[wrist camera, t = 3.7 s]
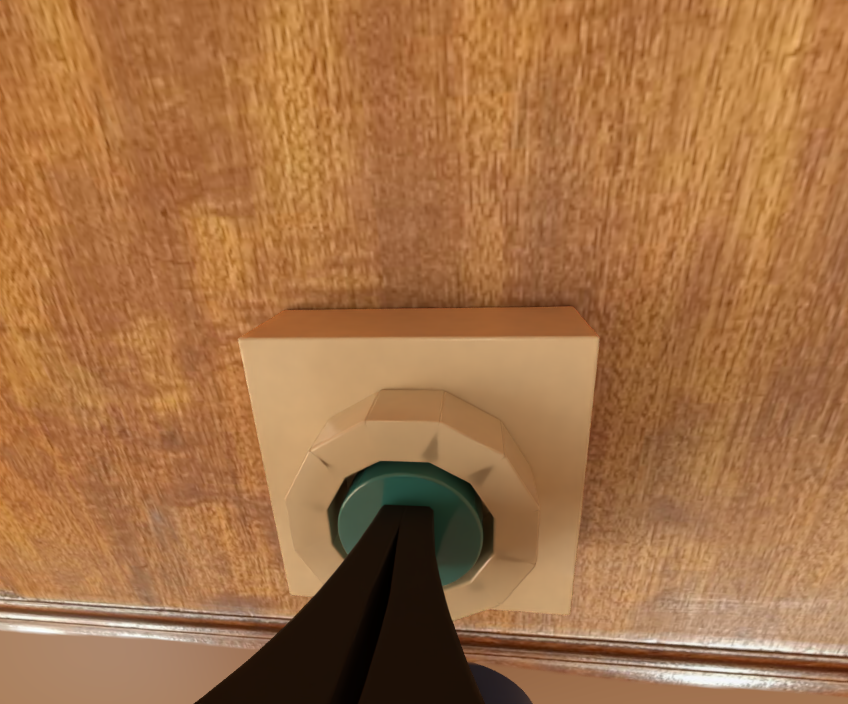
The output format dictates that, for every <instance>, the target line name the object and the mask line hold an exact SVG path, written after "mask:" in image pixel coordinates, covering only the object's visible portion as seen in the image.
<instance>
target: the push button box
mask: <svg viewBox="0 0 848 704" xmlns="http://www.w3.org/2000/svg"><path fill="white" fill-rule="evenodd" d="M238 343H239V348H240V352H241V357H242V362H243V367H244V372H245V377H246V382H247V387H248V392H249V396H250V401H251V406H252V411H253V416H254V421H255V426H256V431H257V436H258V441H259V445H260V450H261V455H262V460H263V465H264V470H265V475H266V480H267V485H268V489H269V494H270V499H271V504H272V509H273V514H274V519H275V524H276V529H277V534H278V538H279V543H280V548H281V553H282V558H283V563H284V568H285V573H286V578H287V582H288V587H289V592H290V595H292V596H306V597H313V596H314V595H315V594H316V593H317V592H318V591H319V590H320V588H321V587H322V586H323V585H324V584H325V583H326V581H327V580H328V579H329V578H330V577H331V575H332V574H333V573H334V572H335V571H336V570H337V568H338V567H339V566H340V565H341V563H342V562H343V561H344V559H345V558H346V557H347V553H346V552H345V550H344V548H343V546H342V544H341V541H340V538H339V533H338V514H339V511H340V507H341V505H342V503H343V500H344V498H345V496H346V493H347V491H348V489H349V486H350V484H351V482H352V479H353V477H354V475H355V473H356V472H358V471H360V470H363V469H365V468H367V467H369V466H371V465H373V464H375V463H377V462H379V461H403V462H429V463H431V464H433V465H435V466H437V467H439V468H441V469H443V470H445V471H447V472H449V473H451V474H453V475H455V476H457V477H459V478H461V479H463V480H465V481H466V482H468V483H470V484H471V485H472V487H473V488H474V490H475V491H476V492H477V494H478V495H479V497H480V498H481V500H482V501H483V532H484V539H483V547H482V550H481V553H480V556H479V558H478V560H477V562H476V563H475V564H474V566H473V567H472V568H471V570H470V571H469V572H468V573H467V574H465V575H464V576H463V577H462V578H460V579H458V580H457V581H455V582H453V583H451V584H448V585H446V586H443V591H444V594H445V598H446V601H447V605H448V608H449V612H450V615H451V618H452V621H456V620H459V619H462V618H465V617H468V616H470V615H473V614H476V613H479V612H482V611H485V610H501V611H515V612H529V613H543V614H557V615H570V613H571V605H572V596H573V586H574V577H575V568H576V558H577V549H578V540H579V530H580V521H581V512H582V502H583V493H584V483H585V474H586V465H587V455H588V446H589V437H590V427H591V418H592V409H593V399H594V390H595V380H596V371H597V362H598V352H599V343H600V338H599V336H598V335H597V333H596V332H595V331H594V330H593V329H592V328H591V326H590V325H589V324H588V323H587V322H586V321H585V319H584V318H583V317H582V316H581V315H580V313H579V312H578V311H577V310H576V309H575V308H574V307H572V306H566V307H485V308H403V309H322V310H283V311H282V312H280V313H278V314H277V315H275V316H274V317H272V318H270V319H269V320H267V321H266V322H264V323H262V324H261V325H259V326H257V327H256V328H254V329H253V330H251V331H249V332H248V333H246V334H245V335H243V336H241V337H240V338H239V339H238Z"/></svg>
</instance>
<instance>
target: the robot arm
mask: <svg viewBox="0 0 848 704" xmlns="http://www.w3.org/2000/svg"><path fill="white" fill-rule="evenodd" d="M194 704H485V702H484V700H483V698H482V696H481V693H480V691H479V689H478V686H477V684H476V682H475V679H474V677H473V675H472V672H471V670H470V668H469V665H468V663H467V660H466V657H465V655H464V652H463V649H462V647H461V644H460V641H459V639H458V636H457V633H456V630H455V627H454V624H453V621H452V618H451V615H450V612H449V608H448V605H447V601H446V598H445V594H444V591H443V587H442V583H441V579H440V575H439V570H438V565H437V560H436V555H435V534H434V510H433V509H432V508H430V507H429V506H407V505H383V506H382V507H381V508H380V510H379V511H378V513H377V515H376V516H375V518H374V519H373V521H372V522H371V524H370V525H369V527H368V528H367V530H366V531H365V532H364V534H363V535H362V537H361V538H360V539H359V541H358V542H357V544H356V545H355V546H354V548H353V549H352V550H351V551H350V553H349V554H348V555H347V557H346V558H345V559H344V561H343V562H342V563H341V565H340V566H339V567H338V568H337V570H336V571H335V572H334V573H333V574H332V575H331V577H330V578H329V579H328V580H327V581H326V583H325V584H324V585H323V586H322V587H321V588H320V590H319V591H318V592H317V593H316V594H315V595H314V596H313V598H312V599H311V600H310V601H309V602H308V603H307V604H306V605H305V606H304V607H303V608H302V609H301V610H300V611H299V613H298V614H297V615H296V616H295V617H294V618H293V619H292V620H291V621H290V622H289V623H288V624H287V625H286V626H285V627H284V628H283V629H282V630H280V631H279V632H278V633H277V634H276V635H275V636H274V637H273V638H272V639H271V640H270V641H269V642H268V643H266V644H265V645H264V646H263V647H262V648H261V649H260V650H259V651H258V652H257V653H256V654H254V655H253V656H252V657H251V658H250V659H249V660H248V661H246V662H245V663H244V664H243V665H242V666H240V667H239V668H238V669H237V670H236V671H234V672H233V673H232V674H231V675H229V676H228V677H227V678H226V679H224V680H223V681H222V682H221V683H219V684H218V685H217V686H216V687H214V688H213V689H212V690H211V691H209V692H208V693H207V694H206V695H204V696H203V697H202V698H201V699H199V700H198V701H197V702H195V703H194Z"/></svg>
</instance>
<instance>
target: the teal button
mask: <svg viewBox="0 0 848 704" xmlns="http://www.w3.org/2000/svg"><path fill="white" fill-rule="evenodd" d="M383 505H407V506H429V507H430V508H432V509H433V510H434V534H435V555H436V560H437V565H438V570H439V575H440V579H441V583H442V587H443V586H446V585H448V584H451V583H453V582H455V581H457V580H458V579H460V578H462V577H463V576H464V575H465V574H467V573H468V572H469V571H470V570H471V568H472V567H473V566H474V564H475V563H476V562H477V560H478V558H479V556H480V553H481V550H482V547H483V539H484V532H483V501H482V500H481V498H480V497H479V495H478V494H477V492H476V491H475V490H474V488H473V487H472V485H471V484H470V483H468V482H466V481H465V480H463V479H461V478H459V477H457V476H455V475H453V474H451V473H449V472H447V471H445V470H443V469H441V468H439V467H437V466H435V465H433V464H431V463H429V462H403V461H379V462H377V463H375V464H373V465H371V466H369V467H367V468H365V469H363V470H360V471H358V472H356V473H355V475H354V477H353V479H352V482H351V484H350V486H349V489H348V491H347V493H346V496H345V498H344V500H343V503H342V505H341V507H340V511H339V514H338V533H339V538H340V541H341V544H342V546H343V548H344V550H345V552H346V553H347V555H348V554H349V553H350V551H351V550H352V549H353V548H354V546H355V545H356V544H357V542H358V541H359V539H360V538H361V537H362V535H363V534H364V532H365V531H366V530H367V528H368V527H369V525H370V524H371V522H372V521H373V519H374V518H375V516H376V515H377V513H378V511H379V510H380V508H381V507H382V506H383Z"/></svg>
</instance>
